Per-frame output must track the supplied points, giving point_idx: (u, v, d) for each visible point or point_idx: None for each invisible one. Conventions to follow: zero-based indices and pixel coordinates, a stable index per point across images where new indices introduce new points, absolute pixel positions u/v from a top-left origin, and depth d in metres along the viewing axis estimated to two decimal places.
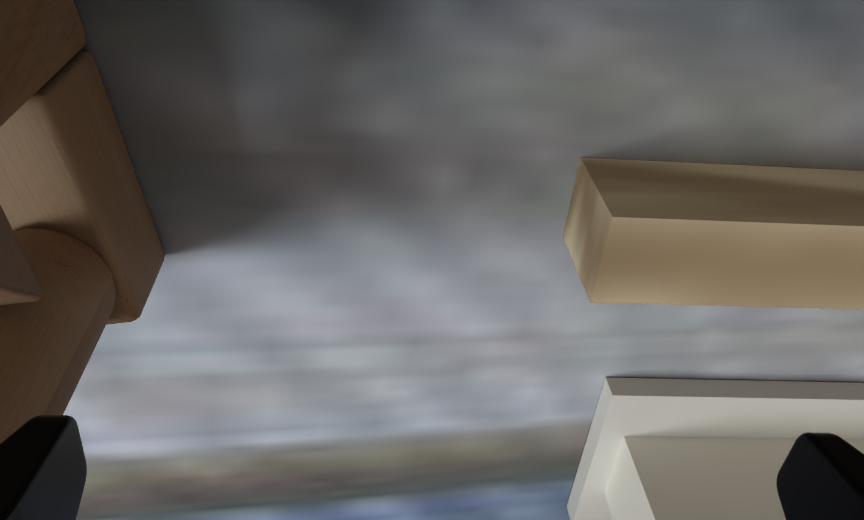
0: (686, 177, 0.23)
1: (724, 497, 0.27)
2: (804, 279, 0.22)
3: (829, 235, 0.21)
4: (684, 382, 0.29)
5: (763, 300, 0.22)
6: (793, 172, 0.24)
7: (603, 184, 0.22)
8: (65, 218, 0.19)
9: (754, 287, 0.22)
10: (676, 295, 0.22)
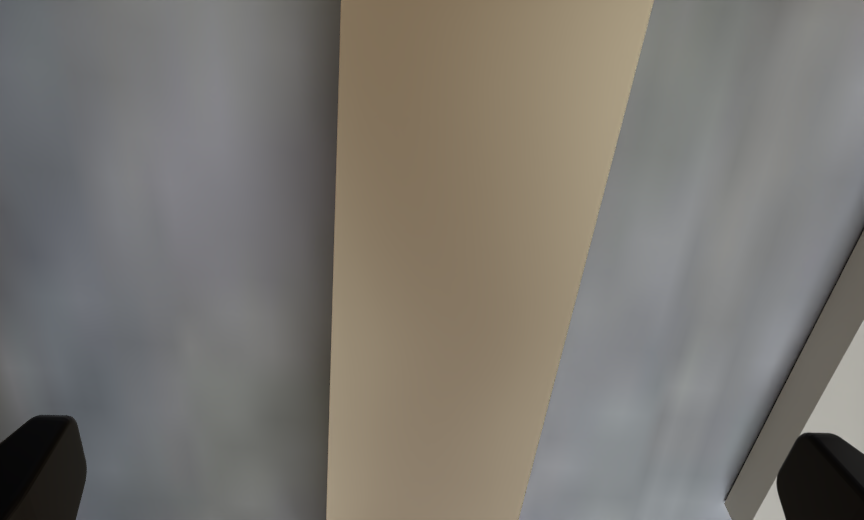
0: None
1: None
2: None
3: None
4: (777, 414, 0.16)
5: None
6: None
7: None
8: None
9: None
10: None
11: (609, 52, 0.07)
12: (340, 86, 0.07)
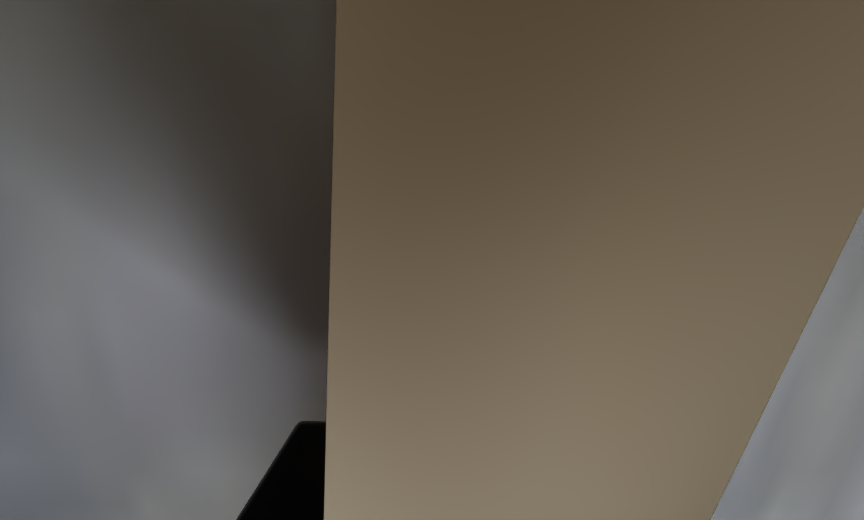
0: None
1: None
2: None
3: None
4: None
5: None
6: None
7: None
8: None
9: None
10: None
11: (787, 260, 0.04)
12: (332, 317, 0.04)
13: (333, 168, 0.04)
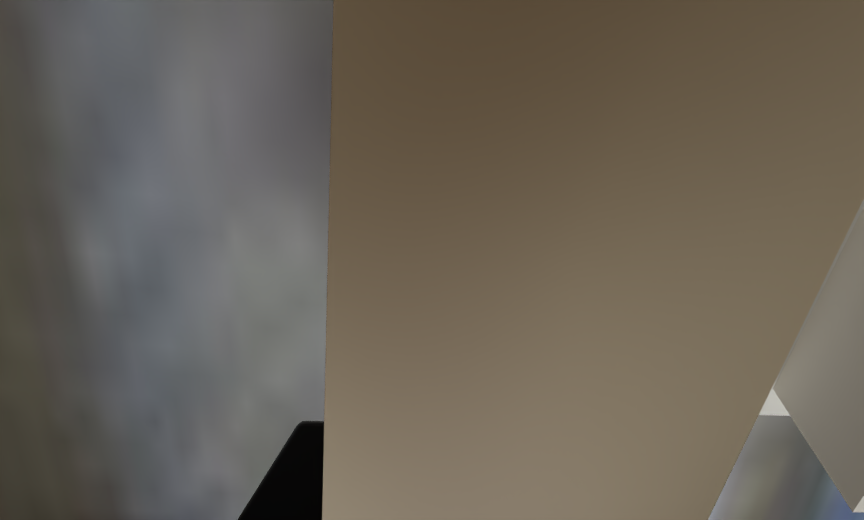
0: None
1: None
2: None
3: None
4: None
5: None
6: None
7: None
8: None
9: None
10: None
11: (784, 257, 0.04)
12: (330, 313, 0.04)
13: (330, 164, 0.04)
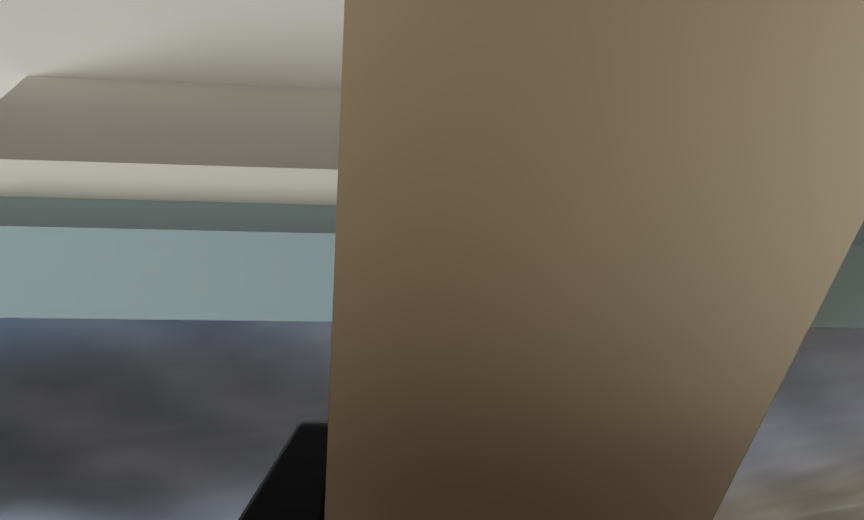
0: None
1: (130, 138, 0.14)
2: None
3: None
4: None
5: None
6: None
7: None
8: None
9: None
10: None
11: (793, 258, 0.04)
12: (335, 311, 0.04)
13: (339, 160, 0.04)
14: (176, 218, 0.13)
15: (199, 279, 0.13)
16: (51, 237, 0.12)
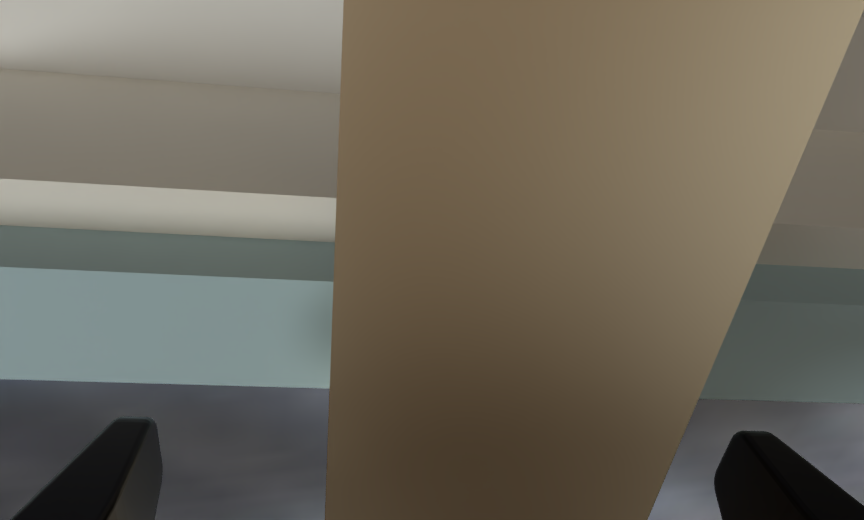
0: None
1: (43, 147, 0.11)
2: None
3: None
4: None
5: None
6: None
7: None
8: None
9: None
10: None
11: (737, 201, 0.05)
12: (337, 248, 0.05)
13: (340, 110, 0.04)
14: (95, 254, 0.10)
15: (123, 332, 0.10)
16: None
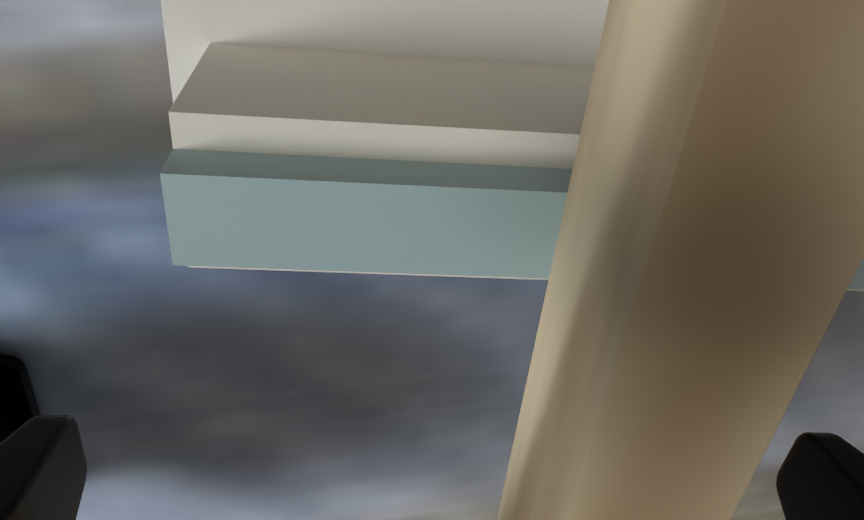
0: (516, 513, 0.17)
1: (335, 100, 0.14)
2: None
3: (587, 519, 0.13)
4: None
5: None
6: (538, 369, 0.15)
7: None
8: None
9: None
10: None
11: None
12: (690, 124, 0.09)
13: (712, 42, 0.08)
14: (390, 174, 0.14)
15: (406, 233, 0.14)
16: (279, 189, 0.13)
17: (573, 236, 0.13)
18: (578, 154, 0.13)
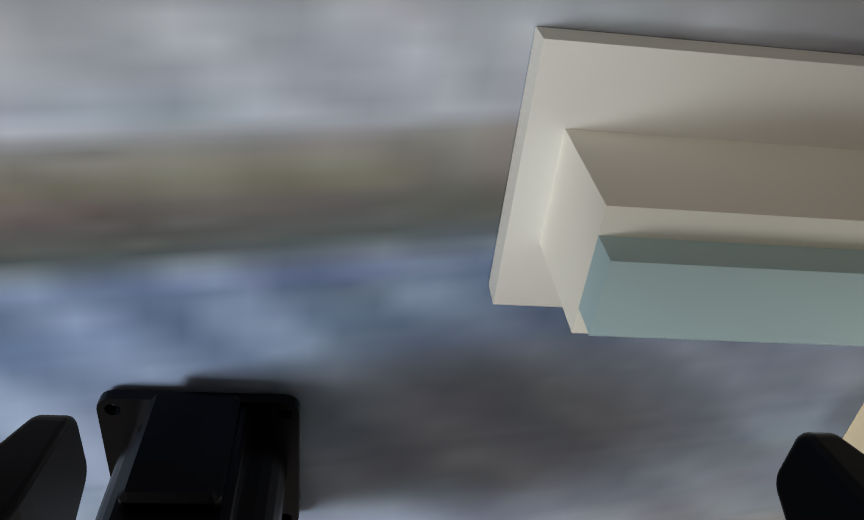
0: None
1: (721, 191, 0.17)
2: None
3: None
4: (660, 40, 0.18)
5: None
6: None
7: None
8: None
9: None
10: None
11: None
12: None
13: None
14: (788, 260, 0.16)
15: (794, 310, 0.16)
16: (704, 274, 0.15)
17: None
18: None
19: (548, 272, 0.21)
